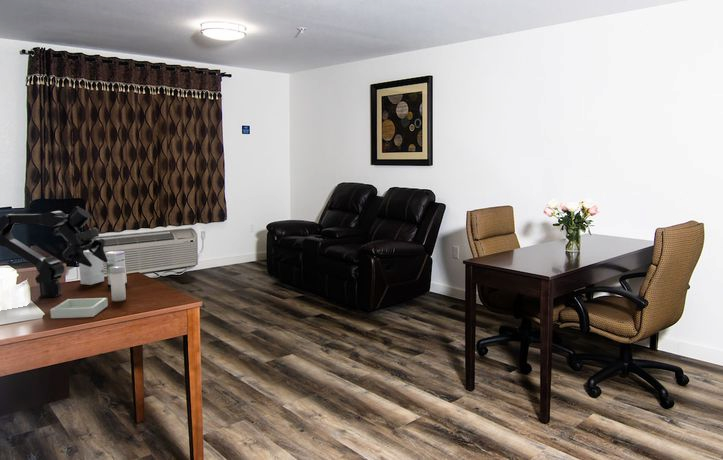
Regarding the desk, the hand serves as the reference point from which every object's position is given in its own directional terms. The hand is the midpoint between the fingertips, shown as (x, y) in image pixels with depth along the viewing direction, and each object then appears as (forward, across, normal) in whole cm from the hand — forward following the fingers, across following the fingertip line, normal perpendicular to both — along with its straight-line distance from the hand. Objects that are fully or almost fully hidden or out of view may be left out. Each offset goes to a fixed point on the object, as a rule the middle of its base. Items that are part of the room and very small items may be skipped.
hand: (99, 263), depth 208 cm
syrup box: (+4, +22, +16) cm, 27 cm away
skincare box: (-5, +22, +25) cm, 33 cm away
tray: (+14, -20, +5) cm, 25 cm away
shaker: (+16, -2, +3) cm, 17 cm away
